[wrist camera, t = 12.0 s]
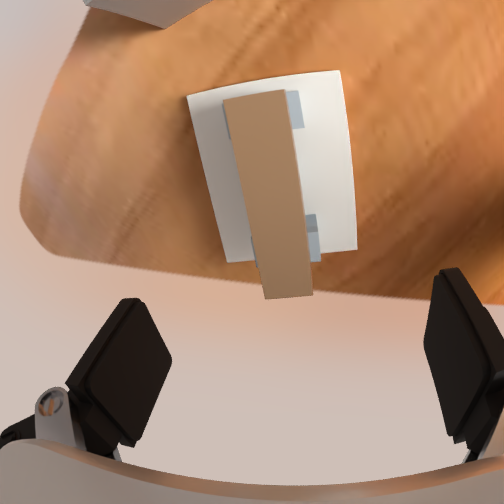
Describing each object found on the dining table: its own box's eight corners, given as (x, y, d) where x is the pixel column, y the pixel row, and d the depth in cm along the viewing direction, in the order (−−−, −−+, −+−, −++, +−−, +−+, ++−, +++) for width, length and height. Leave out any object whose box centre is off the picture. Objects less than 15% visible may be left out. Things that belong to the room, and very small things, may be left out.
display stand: (337, 71, 25) (346, 67, 20) (355, 242, 33) (363, 270, 28) (191, 95, 27) (170, 97, 23) (229, 255, 36) (219, 284, 31)
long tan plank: (285, 89, 21) (283, 89, 18) (311, 269, 29) (313, 295, 25) (233, 97, 22) (222, 99, 19) (268, 273, 30) (265, 299, 26)
